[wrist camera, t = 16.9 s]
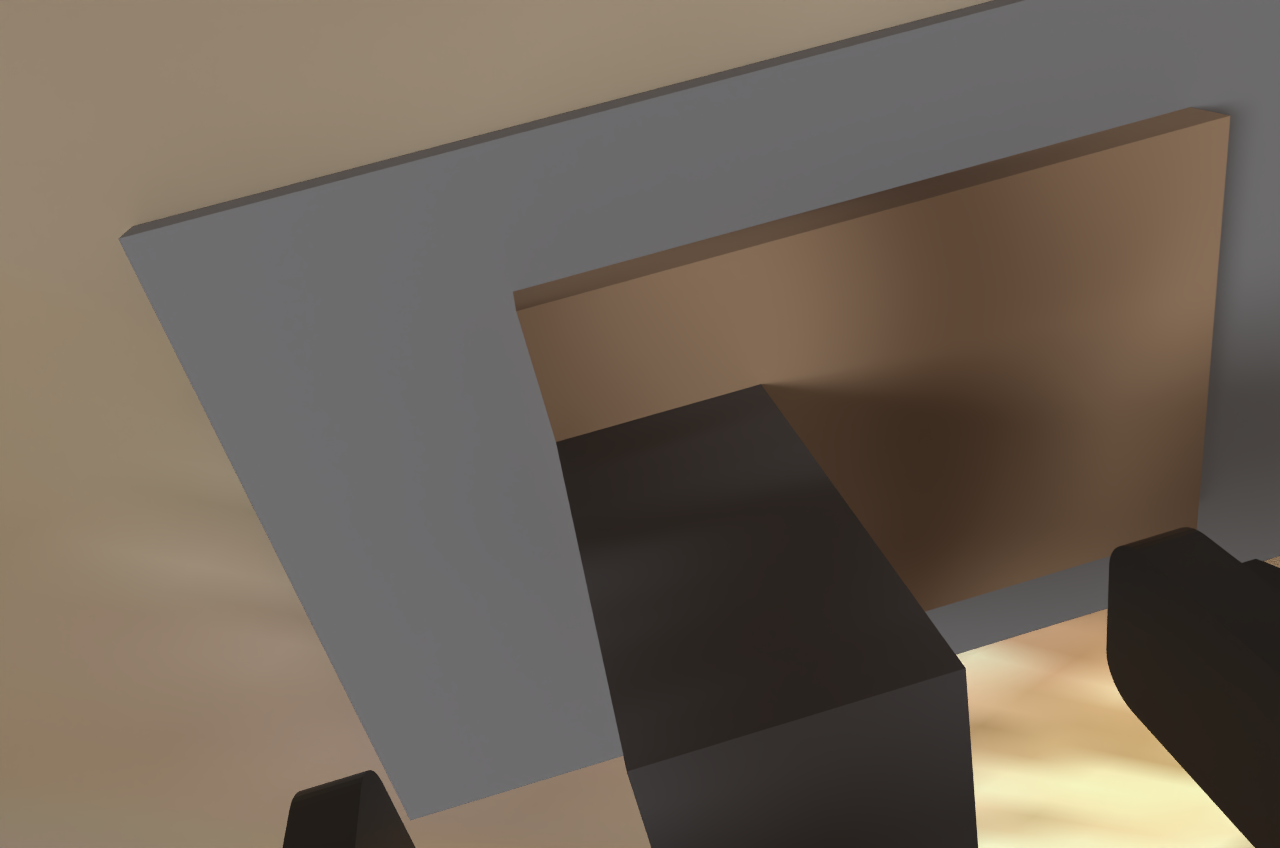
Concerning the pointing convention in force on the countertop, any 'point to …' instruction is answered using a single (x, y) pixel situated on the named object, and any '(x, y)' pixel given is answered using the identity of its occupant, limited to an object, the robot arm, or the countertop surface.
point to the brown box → (871, 465)
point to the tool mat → (616, 232)
